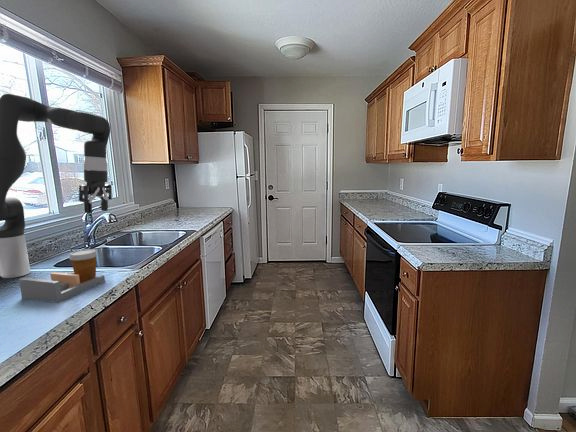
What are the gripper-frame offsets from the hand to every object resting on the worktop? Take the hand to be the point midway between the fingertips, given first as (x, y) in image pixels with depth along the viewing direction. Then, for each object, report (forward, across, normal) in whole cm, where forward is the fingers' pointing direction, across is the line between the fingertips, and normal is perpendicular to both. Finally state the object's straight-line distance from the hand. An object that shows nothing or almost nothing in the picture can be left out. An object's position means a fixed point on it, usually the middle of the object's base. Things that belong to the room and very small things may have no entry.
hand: (96, 211), depth 115 cm
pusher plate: (+29, +8, -8) cm, 31 cm away
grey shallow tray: (+29, +6, -8) cm, 31 cm away
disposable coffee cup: (+29, -2, -6) cm, 30 cm away
